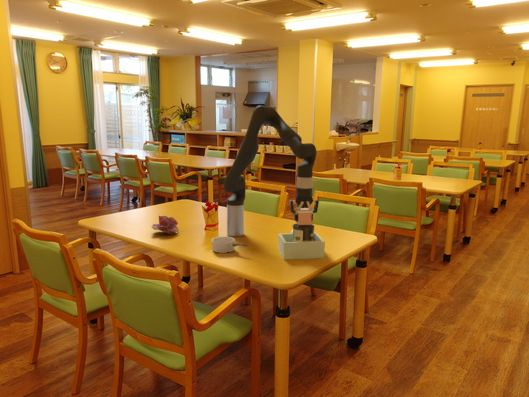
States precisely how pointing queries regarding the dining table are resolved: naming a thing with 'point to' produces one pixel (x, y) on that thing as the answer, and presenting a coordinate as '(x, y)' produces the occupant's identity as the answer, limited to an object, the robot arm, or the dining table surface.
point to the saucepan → (224, 244)
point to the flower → (166, 225)
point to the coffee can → (303, 233)
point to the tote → (300, 247)
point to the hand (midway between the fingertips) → (303, 221)
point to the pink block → (304, 216)
